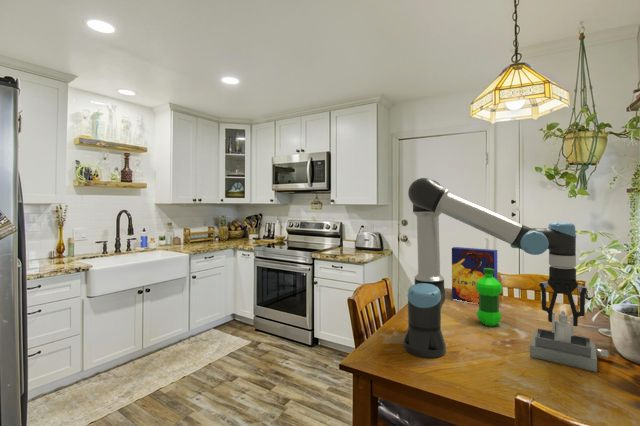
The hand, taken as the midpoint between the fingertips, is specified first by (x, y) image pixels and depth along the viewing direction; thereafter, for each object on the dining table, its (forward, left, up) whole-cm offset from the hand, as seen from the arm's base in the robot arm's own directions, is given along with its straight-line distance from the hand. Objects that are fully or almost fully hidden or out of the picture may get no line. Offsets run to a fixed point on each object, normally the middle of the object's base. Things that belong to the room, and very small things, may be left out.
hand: (562, 332), depth 113 cm
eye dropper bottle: (0, 0, -4) cm, 4 cm away
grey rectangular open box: (+2, -2, -9) cm, 9 cm away
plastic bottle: (+20, +27, -9) cm, 35 cm away
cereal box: (+50, +40, -9) cm, 65 cm away
